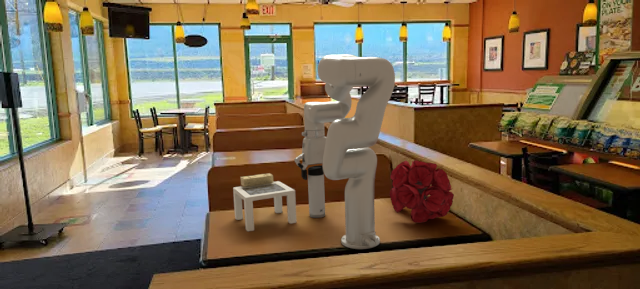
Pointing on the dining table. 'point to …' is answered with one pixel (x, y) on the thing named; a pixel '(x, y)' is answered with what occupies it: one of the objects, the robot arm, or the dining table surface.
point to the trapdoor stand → (249, 199)
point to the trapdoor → (258, 181)
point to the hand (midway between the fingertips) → (316, 177)
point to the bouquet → (421, 190)
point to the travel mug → (316, 191)
